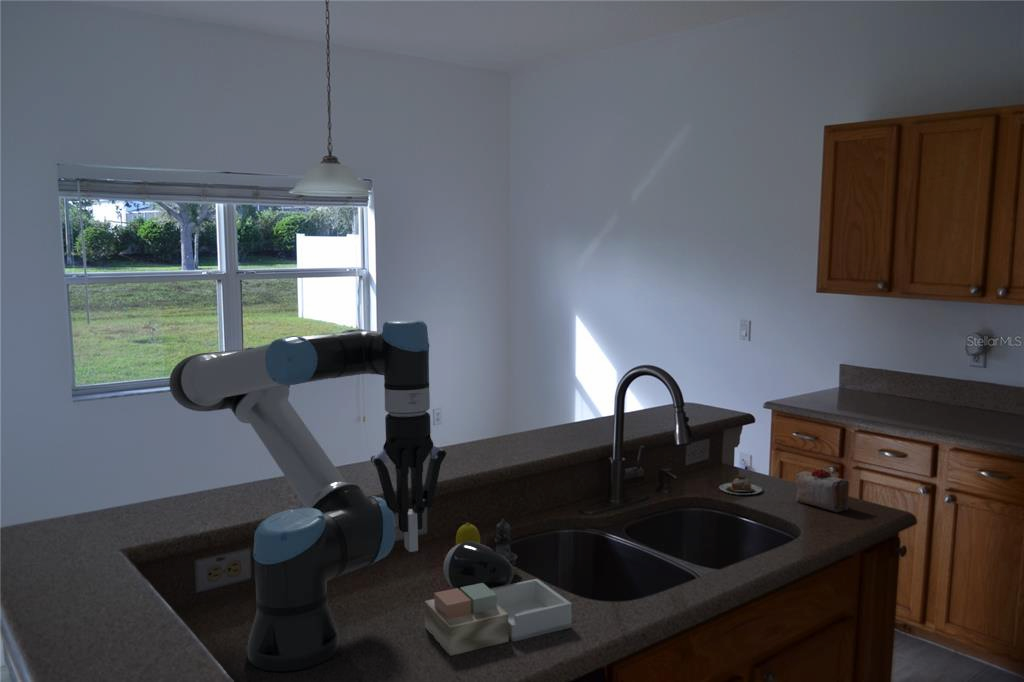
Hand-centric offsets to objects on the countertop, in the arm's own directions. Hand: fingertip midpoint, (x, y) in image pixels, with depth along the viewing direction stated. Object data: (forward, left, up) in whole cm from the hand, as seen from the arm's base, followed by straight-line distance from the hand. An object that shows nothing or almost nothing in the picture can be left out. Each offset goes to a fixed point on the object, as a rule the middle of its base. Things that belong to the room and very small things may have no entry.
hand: (411, 548), depth 135 cm
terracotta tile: (+7, 0, -13) cm, 15 cm away
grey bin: (+22, 0, -18) cm, 28 cm away
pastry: (+116, +46, -18) cm, 126 cm away
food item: (+125, +25, -18) cm, 129 cm away
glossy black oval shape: (+16, +21, -13) cm, 29 cm away
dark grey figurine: (+28, +23, -18) cm, 40 cm away
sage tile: (+12, 0, -13) cm, 18 cm away
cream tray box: (+10, 0, -18) cm, 20 cm away
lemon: (+25, +35, -18) cm, 46 cm away
